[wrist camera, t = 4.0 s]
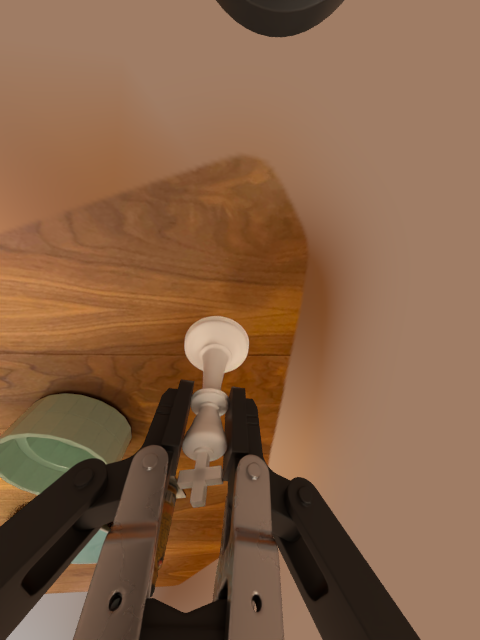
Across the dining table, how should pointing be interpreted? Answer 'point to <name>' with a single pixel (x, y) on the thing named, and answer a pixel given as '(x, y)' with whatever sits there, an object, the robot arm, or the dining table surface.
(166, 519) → the condiment
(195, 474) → the chess piece
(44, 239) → the dining table surface
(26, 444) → the bowl
